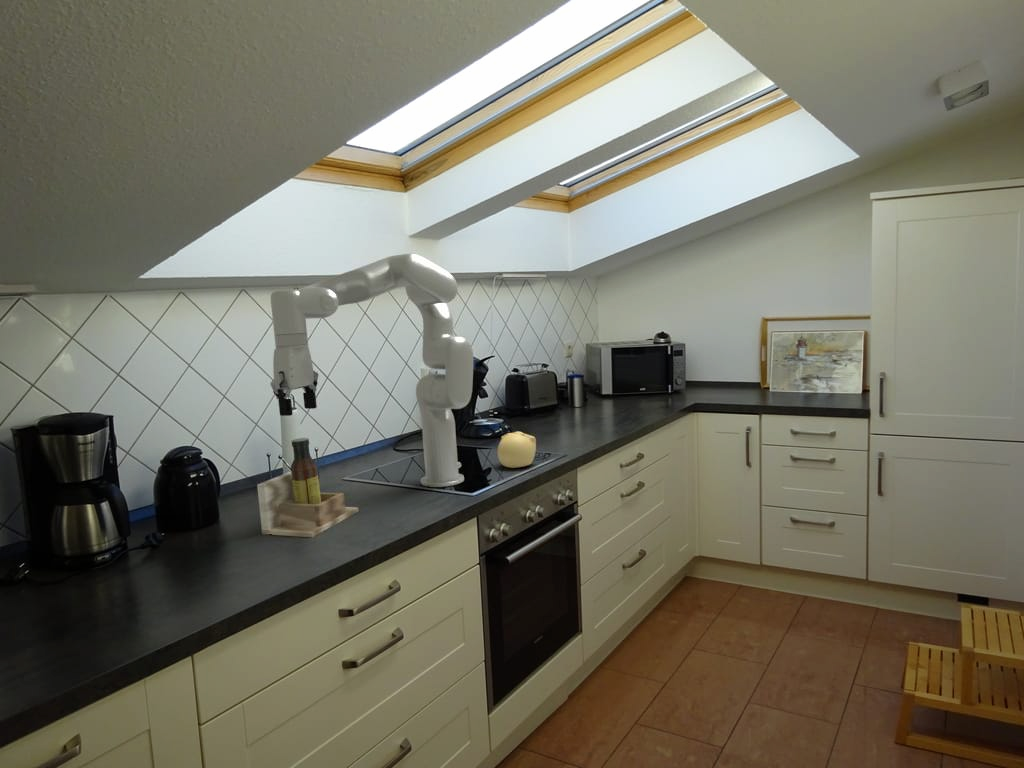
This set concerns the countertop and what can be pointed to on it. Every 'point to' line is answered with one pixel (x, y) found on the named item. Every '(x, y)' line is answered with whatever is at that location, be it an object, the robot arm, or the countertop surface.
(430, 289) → the robot arm
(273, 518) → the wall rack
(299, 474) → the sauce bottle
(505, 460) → the pale yellow rounded lump
